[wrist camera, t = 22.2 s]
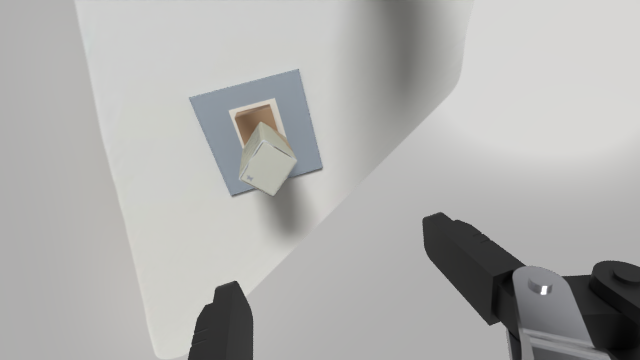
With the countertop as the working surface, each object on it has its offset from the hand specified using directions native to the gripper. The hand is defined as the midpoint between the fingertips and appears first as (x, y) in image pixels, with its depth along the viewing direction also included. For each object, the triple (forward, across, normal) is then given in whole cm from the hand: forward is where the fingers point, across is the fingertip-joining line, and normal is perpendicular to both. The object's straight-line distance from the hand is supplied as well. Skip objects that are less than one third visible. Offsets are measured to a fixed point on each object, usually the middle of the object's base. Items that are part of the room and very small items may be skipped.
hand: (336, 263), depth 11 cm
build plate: (+34, +3, +2) cm, 34 cm away
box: (+29, +3, +2) cm, 29 cm away
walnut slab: (+33, +3, +2) cm, 34 cm away
